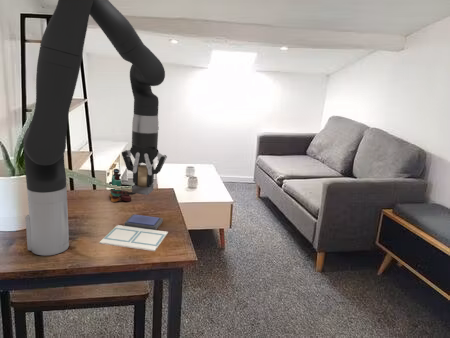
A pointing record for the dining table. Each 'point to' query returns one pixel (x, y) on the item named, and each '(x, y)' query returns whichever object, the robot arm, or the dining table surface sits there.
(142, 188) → the stamp
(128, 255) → the dining table surface
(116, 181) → the binoculars
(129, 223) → the ink pad
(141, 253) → the dining table surface
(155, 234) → the form board
